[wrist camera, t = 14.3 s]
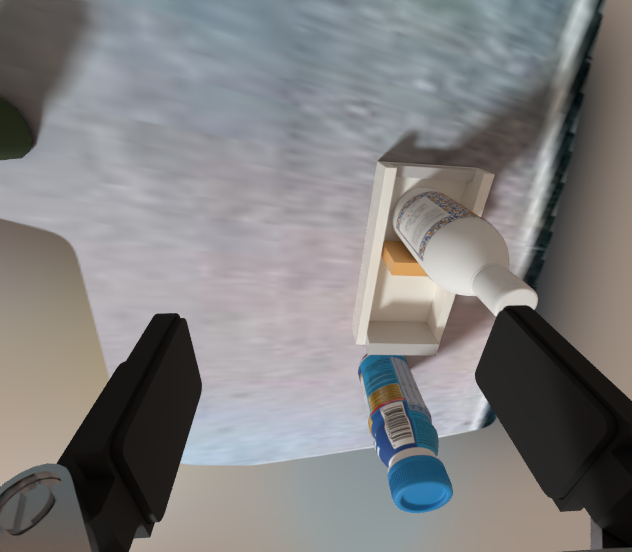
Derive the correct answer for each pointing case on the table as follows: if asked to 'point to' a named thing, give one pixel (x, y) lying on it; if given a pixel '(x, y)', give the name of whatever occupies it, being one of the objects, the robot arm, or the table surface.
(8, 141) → the character mug
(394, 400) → the beverage bottle
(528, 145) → the table surface
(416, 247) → the bath foam
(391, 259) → the orange rectangular block
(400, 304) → the pusher lane
